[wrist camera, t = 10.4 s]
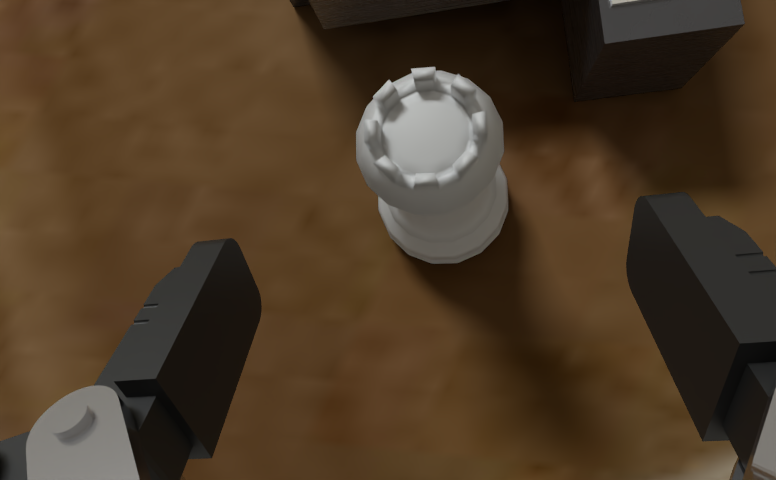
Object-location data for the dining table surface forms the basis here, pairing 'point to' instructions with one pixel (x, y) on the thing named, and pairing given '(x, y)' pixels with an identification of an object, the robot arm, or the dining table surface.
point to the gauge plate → (381, 9)
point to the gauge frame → (640, 42)
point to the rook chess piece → (435, 164)
